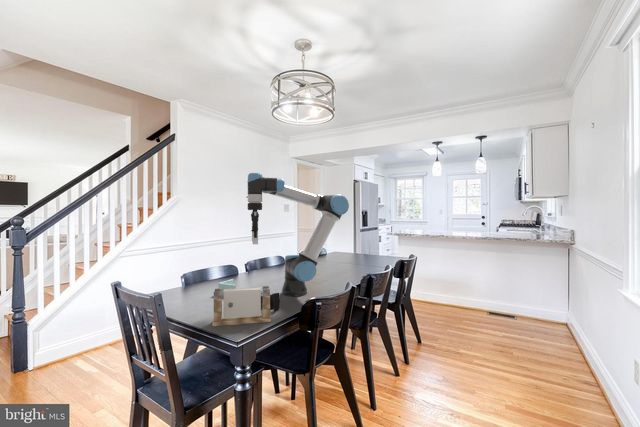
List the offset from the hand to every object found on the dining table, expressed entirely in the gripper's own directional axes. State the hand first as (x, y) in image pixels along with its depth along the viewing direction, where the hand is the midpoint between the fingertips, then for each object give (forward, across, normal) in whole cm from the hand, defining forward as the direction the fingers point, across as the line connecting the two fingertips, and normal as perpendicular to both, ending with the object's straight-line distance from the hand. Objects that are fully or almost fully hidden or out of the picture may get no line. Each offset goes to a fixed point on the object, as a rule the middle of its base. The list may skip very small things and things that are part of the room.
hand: (254, 242), depth 162 cm
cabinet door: (+30, +24, -6) cm, 39 cm away
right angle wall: (+34, -24, -12) cm, 43 cm away
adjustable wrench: (+33, +2, +5) cm, 34 cm away
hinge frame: (+33, +24, -6) cm, 41 cm away
